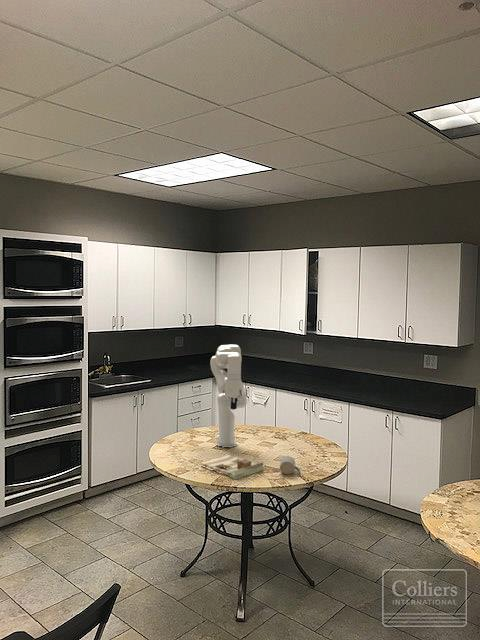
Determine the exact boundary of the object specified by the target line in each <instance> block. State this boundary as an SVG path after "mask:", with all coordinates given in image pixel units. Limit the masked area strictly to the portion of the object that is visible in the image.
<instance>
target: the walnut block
mask: <svg viewBox="0 0 480 640" xmlns="http://www.w3.org/2000/svg"><path fill="white" fill-rule="evenodd" d="M241 459H242V460H239V461H238V463H237V469H242V468H245V467H248V466H251V462H252V460H250V459H247V458H241Z"/></svg>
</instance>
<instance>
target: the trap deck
mask: <svg viewBox="0 0 480 640" xmlns="http://www.w3.org/2000/svg"><path fill="white" fill-rule="evenodd" d="M242 459H243V458H239V457H237V456H233V455H230V454H225V455H222V456H220V457H216V458H213V459H210V460H205V461H203V462H202V461H201V462H200V466H201V465H203V466H205V467H208V468H210V469H213V470H215V471H218V472H221V473H224V474H226V475H229V476H231V477H233V478H232V479H234V478H238V479H240V477H241V478H243V476H244V477H246V475H247V476H249V475H252V474H254V473H255V474H256V473H258V472H261V471H263V470H264V462H263V461H260V462H256V463H255V462H252V461H251V466H248V467H245V468H242V469H237V464H238V463H237V462H238V461H239V460H242ZM219 467H225V468H228V469H225V468H224V469H223V468H219ZM215 471H214V472H215ZM226 475H225V476H226ZM231 477H230V478H231Z"/></svg>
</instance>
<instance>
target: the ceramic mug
mask: <svg viewBox="0 0 480 640" xmlns="http://www.w3.org/2000/svg"><path fill="white" fill-rule="evenodd" d="M279 462H280V463H279V469H280V471H281V473H282V474H284V475H288V476H289V475H291V474H292V473H293V474H296V475H300V473H301V469H300V468H299V467H298V466H296V462H295V459H294V458H293V457H292V456H289V455H284V456H282V457H281V459H280V461H279Z"/></svg>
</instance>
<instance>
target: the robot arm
mask: <svg viewBox="0 0 480 640" xmlns="http://www.w3.org/2000/svg"><path fill="white" fill-rule="evenodd" d="M241 354H242V349H241V347H240V346H239V345H238V344H221V345H220V346H218V347H217V349H216V352H215V355H213V356H212V357H211V358H210V363H209V364H210V370H211V372H212V374H213V376H214V377H215V381H216V387H217V392H218V393H219V395H217V409H218V434H217V435H216V436H215V437H214V438H215V440H217V441H216V442H215V445H216V444H217V445H218V446H217V445H216V446H217V447H219V446H223V447H222V448H224V447H229V448H233V446H234V447H236V446H238V442H237V441H236V440H235V424H236V423H235V421H236V419H235V417H236V416H235V414H234V413H233V411H232V410H234V411H235V410H238V409H244V408H245V407H246V406H247V403H248V402H247V401H248V400H247V395H246V391H245V387H244V383H243V382H242V359H243V358H242V355H241ZM225 369H227V371H226V370H225Z"/></svg>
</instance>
